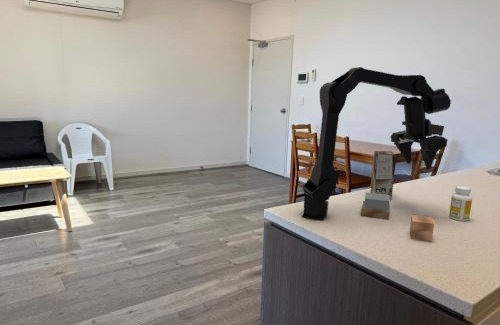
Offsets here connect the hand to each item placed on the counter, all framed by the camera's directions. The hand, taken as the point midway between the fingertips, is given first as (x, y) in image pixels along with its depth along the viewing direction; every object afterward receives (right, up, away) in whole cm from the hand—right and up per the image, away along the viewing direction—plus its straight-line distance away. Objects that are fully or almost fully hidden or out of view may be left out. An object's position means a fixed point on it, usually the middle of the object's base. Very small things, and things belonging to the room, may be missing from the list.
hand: (418, 166), depth 111 cm
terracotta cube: (-8, -19, -18) cm, 27 cm away
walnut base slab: (-14, -15, -1) cm, 21 cm away
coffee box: (-5, -11, +19) cm, 23 cm away
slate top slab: (-14, -12, -1) cm, 18 cm away
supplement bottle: (+11, -16, -3) cm, 20 cm away
